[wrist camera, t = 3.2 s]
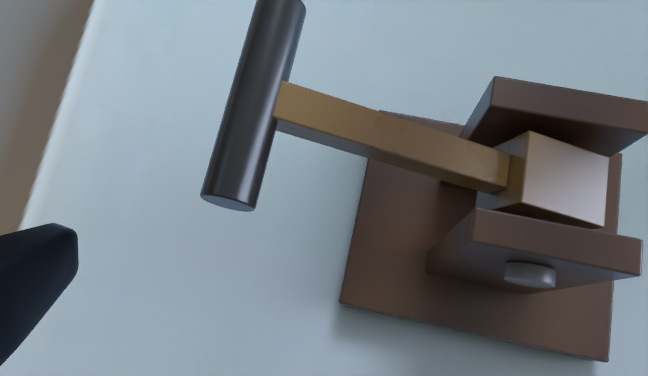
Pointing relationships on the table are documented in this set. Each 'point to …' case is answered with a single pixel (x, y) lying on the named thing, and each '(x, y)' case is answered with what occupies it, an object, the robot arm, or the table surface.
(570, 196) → the tap lever
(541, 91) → the stand
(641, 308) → the table surface
